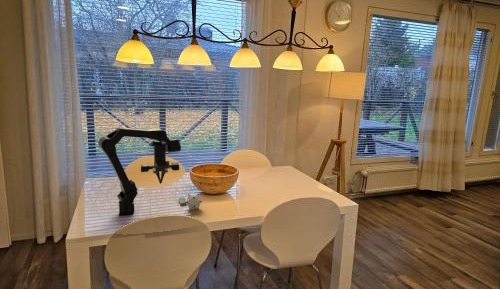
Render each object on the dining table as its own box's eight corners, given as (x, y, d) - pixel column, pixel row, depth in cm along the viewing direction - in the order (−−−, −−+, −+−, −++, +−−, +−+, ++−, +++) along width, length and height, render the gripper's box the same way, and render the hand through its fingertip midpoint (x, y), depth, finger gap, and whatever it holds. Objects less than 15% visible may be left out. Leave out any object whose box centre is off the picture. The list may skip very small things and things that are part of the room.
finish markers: (185, 218, 159) (184, 215, 159) (178, 200, 182) (178, 197, 182) (191, 218, 160) (191, 215, 160) (184, 199, 183) (184, 197, 183)
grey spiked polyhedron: (189, 216, 171) (178, 200, 171) (202, 206, 176) (191, 191, 176) (195, 213, 164) (184, 196, 164) (208, 203, 169) (197, 187, 169)
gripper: (139, 158, 159) (141, 189, 162) (179, 156, 164) (180, 187, 167) (140, 153, 169) (141, 182, 172) (178, 151, 174) (178, 180, 177)
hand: (160, 183), depth 172 cm, fingers closed
